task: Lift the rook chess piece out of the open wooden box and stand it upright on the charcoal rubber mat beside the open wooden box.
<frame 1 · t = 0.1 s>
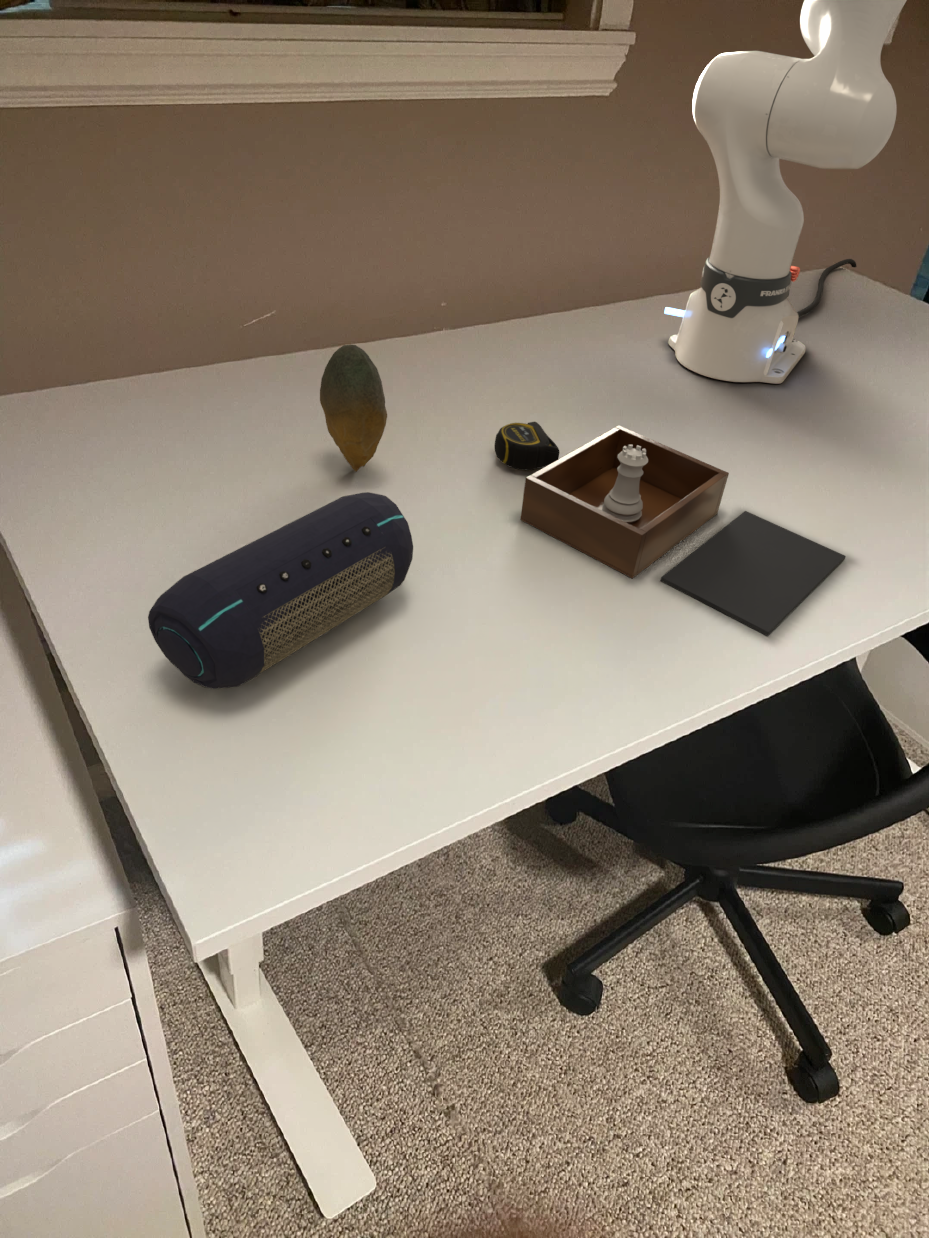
tape measure: (526, 461, 110), on the table
rook chess piece: (620, 515, 101), resting on open wooden box
mat: (754, 569, 95), on the table
portable speaker: (297, 630, 83), on the table
open wooden box: (620, 516, 101), on the table
green and yellow papaya: (353, 471, 105), on the table
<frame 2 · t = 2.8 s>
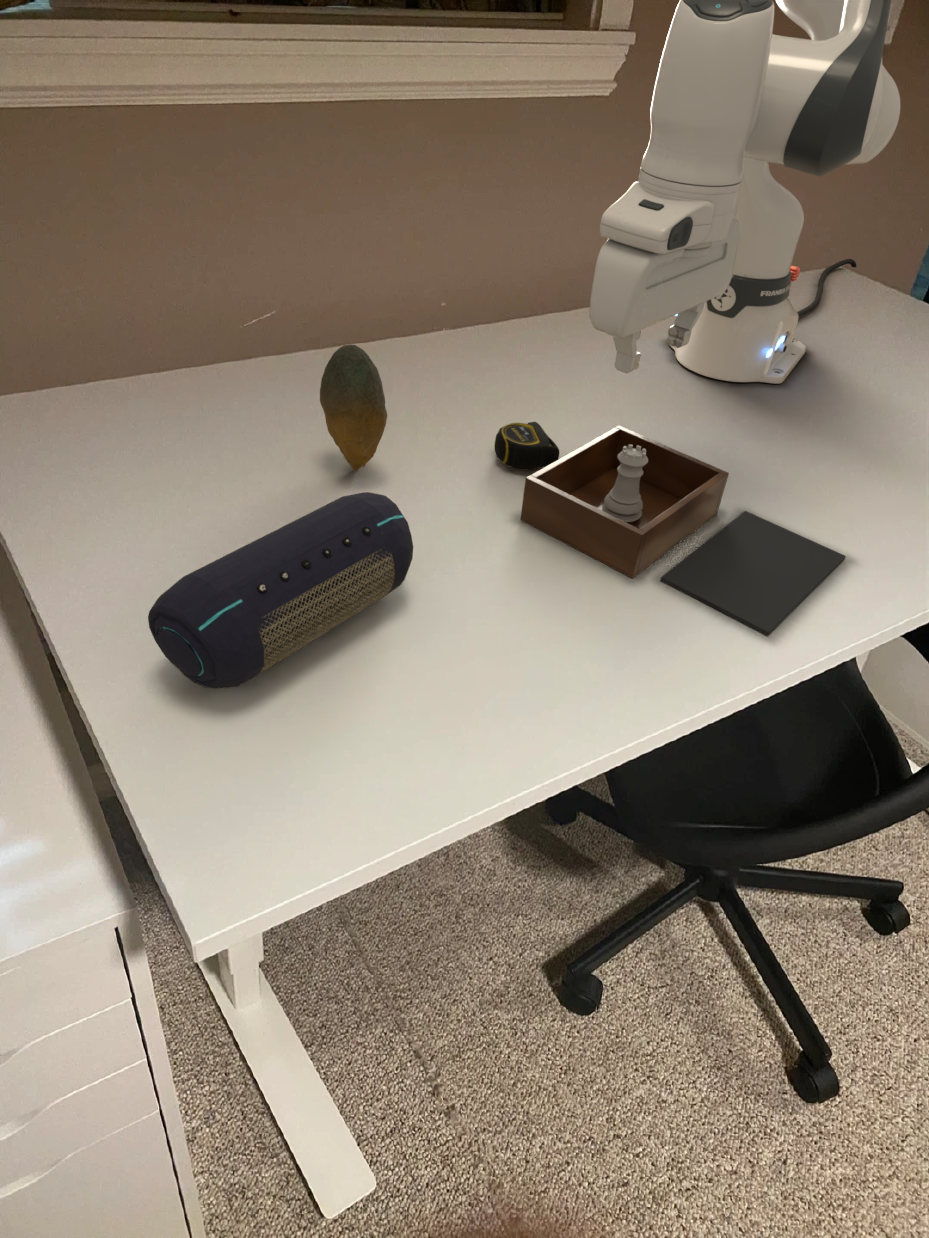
hand: (652, 357, 90), 18 cm above the table, tool pointing down, fingers open, 8 cm apart
nothing on the table moved.
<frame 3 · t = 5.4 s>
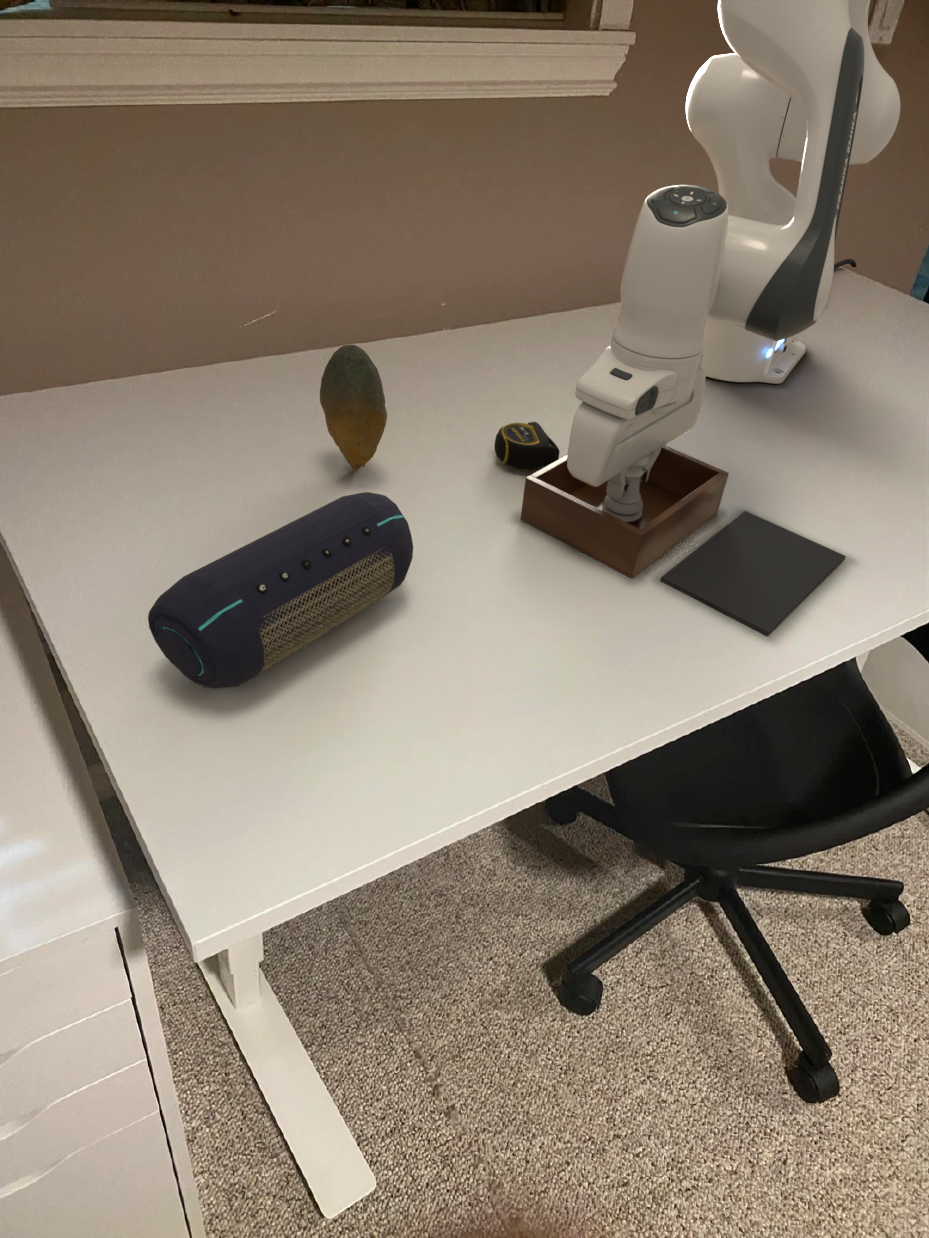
hand: (626, 488, 99), 4 cm above the table, tool pointing down, fingers closed on rook chess piece, 3 cm apart
rook chess piece: (620, 515, 101), resting on open wooden box, touching gripper
everything else where it was.
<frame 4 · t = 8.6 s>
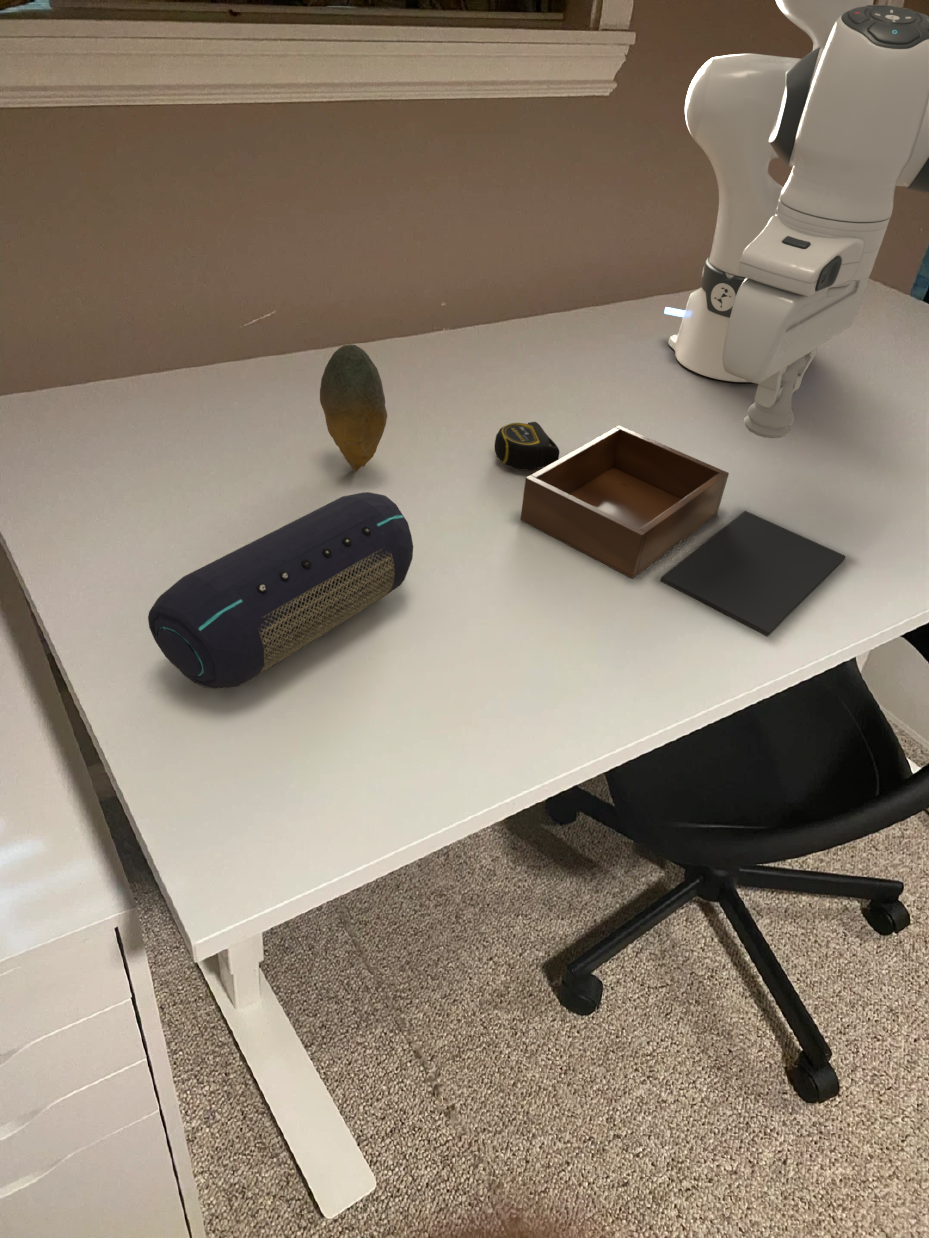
hand: (775, 397, 85), 18 cm above the table, tool pointing down, fingers closed on rook chess piece, 3 cm apart
rook chess piece: (765, 430, 87), point 15 cm above the table, touching gripper
everything else where it was.
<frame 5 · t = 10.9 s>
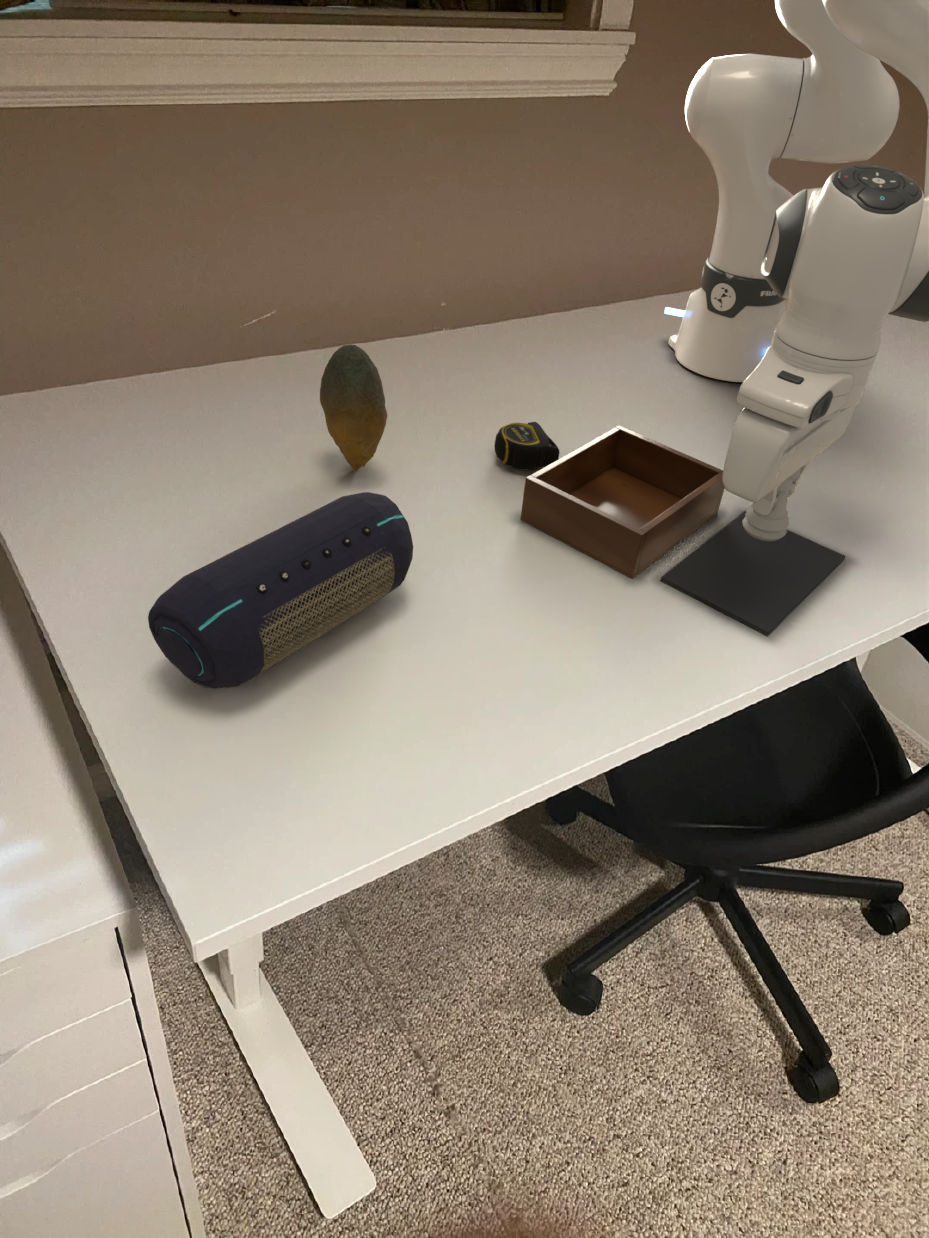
hand: (772, 502, 90), 8 cm above the table, tool pointing down, fingers closed on rook chess piece, 3 cm apart
rook chess piece: (762, 532, 92), point 5 cm above the table, touching gripper
everything else where it was.
when the fingers open (4 cm above the table, at t = 12.3 s): rook chess piece stays where it is, resting on mat.
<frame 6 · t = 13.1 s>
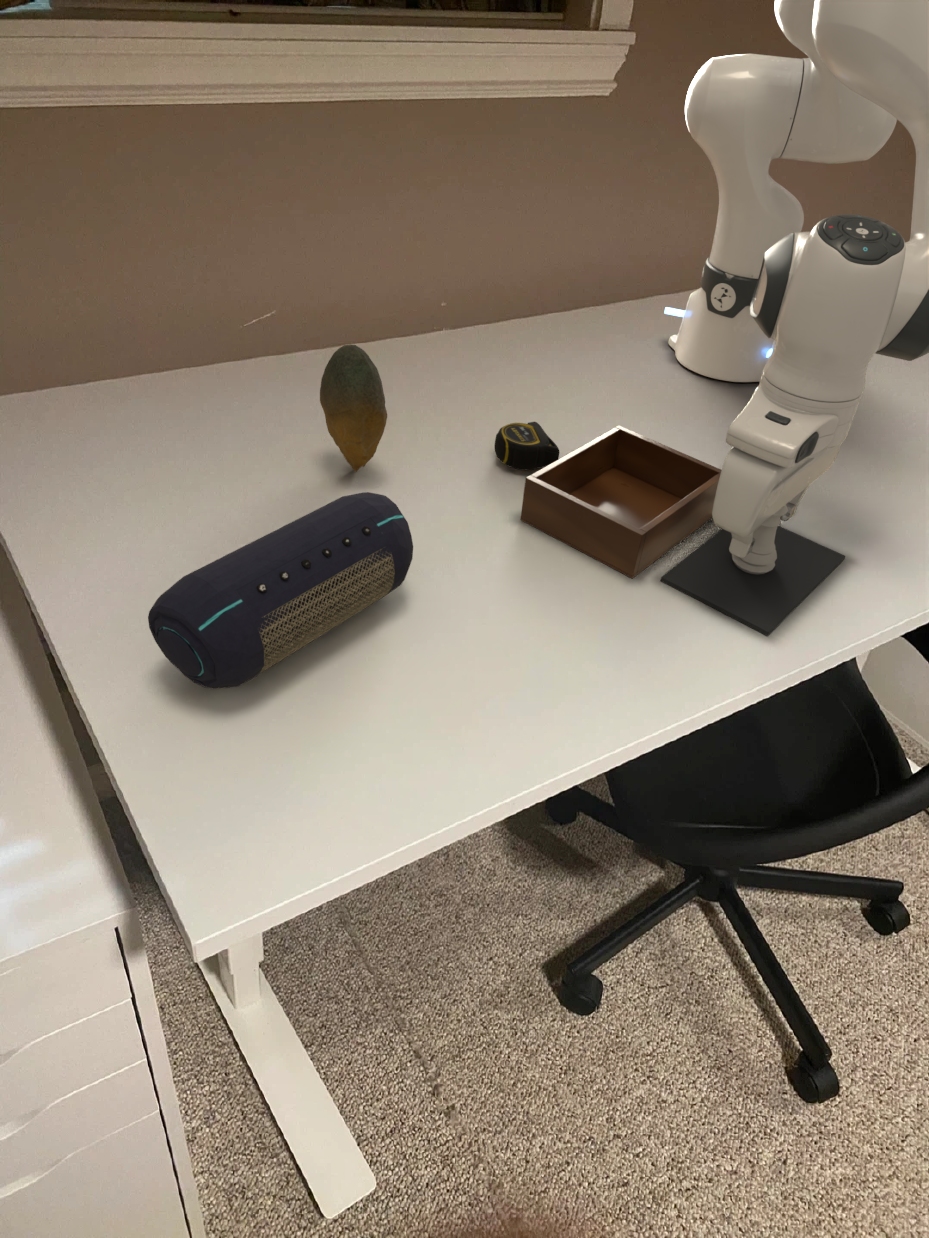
hand: (761, 534, 93), 4 cm above the table, tool pointing down, fingers open, 8 cm apart
rook chess piece: (751, 565, 95), resting on mat
everything else where it was.
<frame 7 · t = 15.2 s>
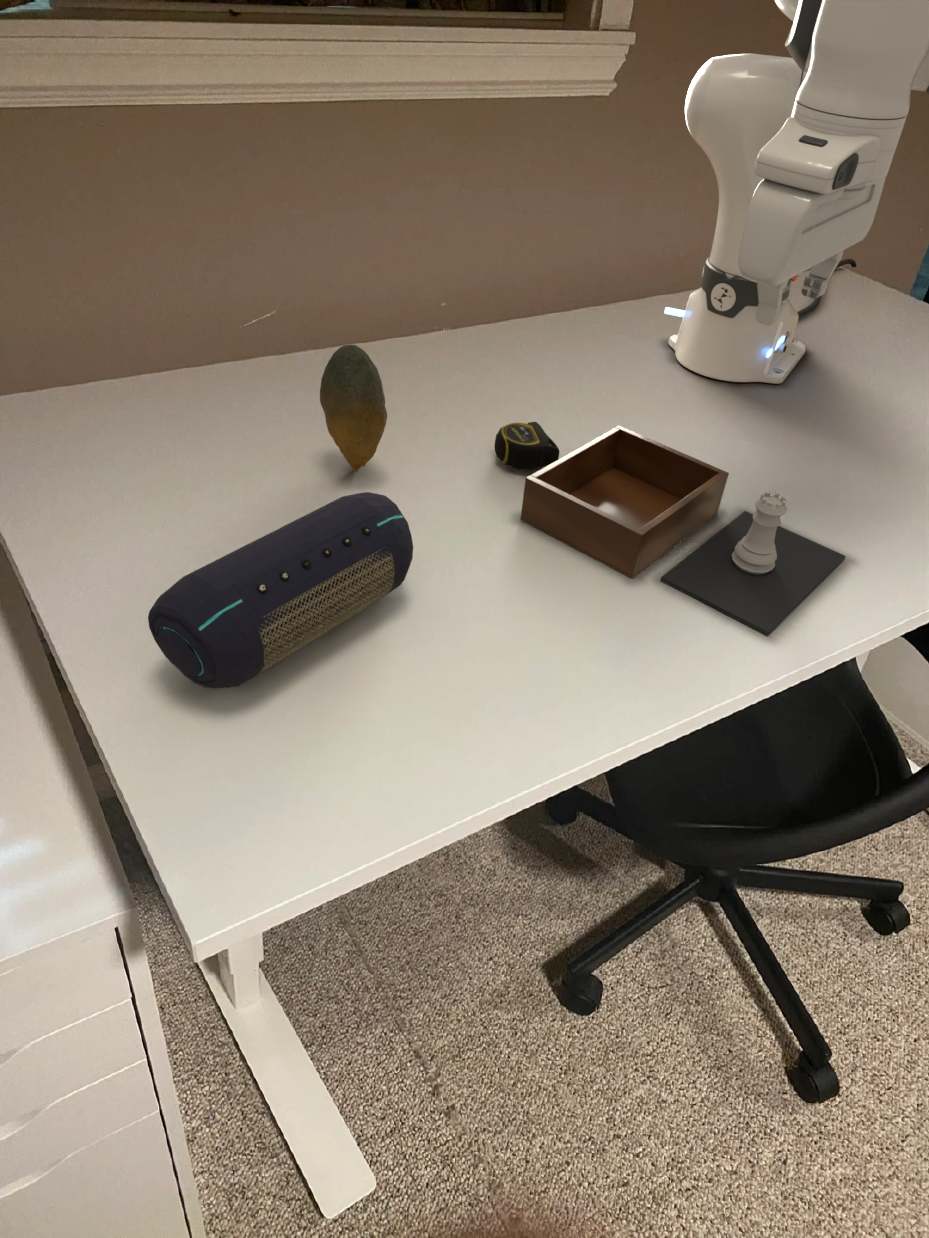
hand: (789, 308, 85), 25 cm above the table, tool pointing down, fingers open, 8 cm apart
nothing on the table moved.
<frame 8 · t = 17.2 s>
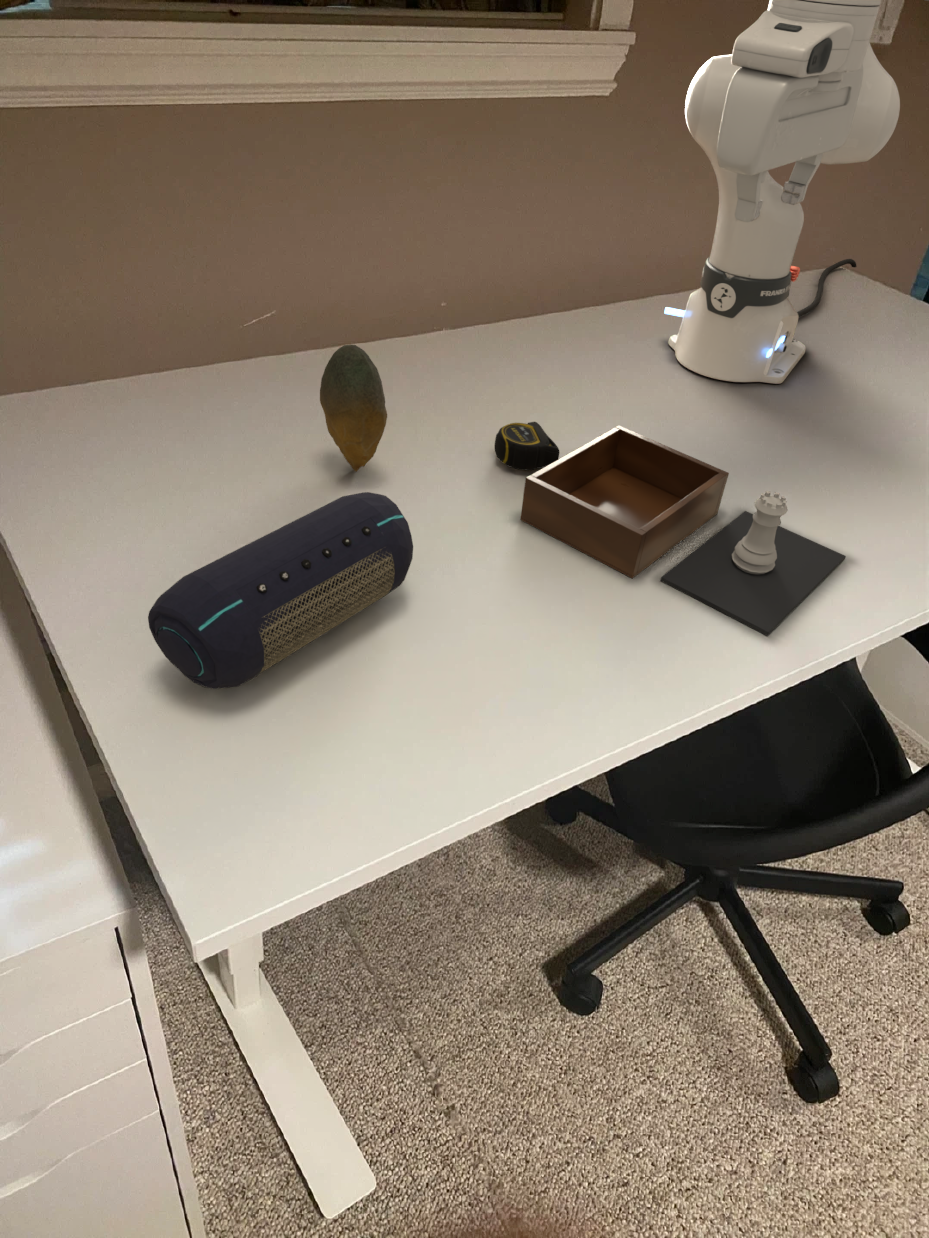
hand: (769, 211, 87), 31 cm above the table, tool pointing down, fingers open, 8 cm apart
nothing on the table moved.
at the end: rook chess piece inside the target area on the mat (0.5 cm from its centre), point 0.3 cm above the mat's base; rook chess piece tilted 0°; rook chess piece touching mat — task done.
